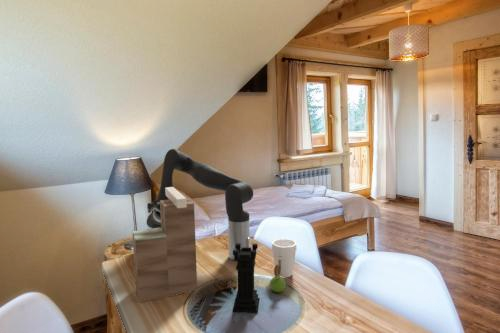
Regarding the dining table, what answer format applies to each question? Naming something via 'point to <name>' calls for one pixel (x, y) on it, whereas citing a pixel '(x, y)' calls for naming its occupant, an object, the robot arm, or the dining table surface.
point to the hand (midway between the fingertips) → (167, 200)
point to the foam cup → (284, 255)
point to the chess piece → (245, 280)
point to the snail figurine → (277, 278)
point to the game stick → (175, 197)
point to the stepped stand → (166, 254)
